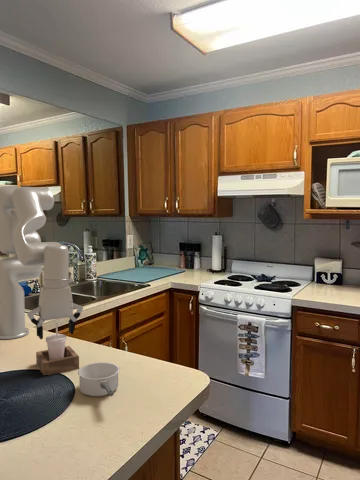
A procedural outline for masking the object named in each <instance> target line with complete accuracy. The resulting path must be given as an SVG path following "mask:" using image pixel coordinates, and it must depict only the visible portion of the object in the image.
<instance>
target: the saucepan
mask: <svg viewBox="0 0 360 480" xmlns="http://www.w3.org/2000/svg"><path fill="white" fill-rule="evenodd" d="M119 372H120V367H119V366H118V365H117V364H116V363H113V362H109V361H107V362H106V361H97V362H93V363H89V364H86V365H83V366H81V367H79V369H78V372H77V375H78V376H79V391H80V392H81V393H82V394H84V395H87V396H91V397H103V396H106V395H109V397H112V396H114V395H115V394H114V392H115V391H116V390H117V389H118V387H119Z"/></svg>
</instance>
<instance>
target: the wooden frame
mask: <svg viewBox="0 0 360 480" xmlns="http://www.w3.org/2000/svg"><path fill="white" fill-rule="evenodd" d="M35 354H36V357H35V358H36V361H35V363H36V366H37V367H38V369H39V370H40V373H43V374H42V375H48V376H51V375H57V374H60V373H65V372H70V371H74V370H77V369H78V370H79V369H80V355H78V353H77V352H76V351H75V350H74V349H73V348H72V347H71V346H70V345H67V346H66V345H65V349H64V358H60V359H55V360H50V359H49V353H48V349H45V350H39V351H36V352H35Z"/></svg>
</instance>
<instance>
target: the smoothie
mask: <svg viewBox="0 0 360 480" xmlns="http://www.w3.org/2000/svg"><path fill="white" fill-rule="evenodd" d="M58 325H59V324H58V322H56V323H55V333H53V334H50V335H47V336H46V337H45V342H46V347H47V350H48V353H49V359H50V360H55V359H60V358H64V349H65V347H66V341H67V335H66V334H64V333H58V332H59V331H58Z"/></svg>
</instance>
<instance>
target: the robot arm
mask: <svg viewBox="0 0 360 480" xmlns="http://www.w3.org/2000/svg"><path fill="white" fill-rule="evenodd" d="M54 204H55V198H54V194H53V193H52V191H51V190H50V189H49V188H46V187H34V186H33V187H32V186H13V185H12V186H11V185H10V186H8V185H7V186H0V252H1V254H6V255H15V254H16V256H11V257H9V256H8V257H4V258H0V340H12V339H17V338H21V337H22V338H23V337H25V336H27V335H28V334H29V333H30V329H29V328H28V327H26V324H25V323H26V321H25V320H26V318H25V317H26V316H27V317H28V319H29V320H30V322H31V323H32V324H33V325H35V326H36V336H37V337H38V338H39V339H40V340H43V339H44V326H43V324H44V323H45V321H51V320H59V319H65V318H69V319H68V333H70V334H71V335H74V332H75V330H76V322H77V320H78V318H79V317H80V316H81V313H82V312H83V310H84V307H83V306H82V305H80V304H77V303H74V301H73V300H74V299H73V293H72V288H71V285H70V284H71V283H73V282H74V279H73V278H70V277H69V247H68V246H67V245H65V244H61V243H59V242H57V241H46V242H45V241H42V239H41V235H40V234H39V233H38V232H37V231H38V230H40V229H41V228H42V227H44V226H45V224H46V221H47V217H46V215H45V212H44V211H50V210H52V209H53V208H54ZM42 267H43V268H42ZM42 270H43V287H40V290H39V298H38V306H37V307H36V308H33V309H32V310H30V311H28V312H27V313H26V314H25V311H26V310H25V306H26V304H25V290H24V287H23V286H21V284H20V283H19V282H18V281H22V280H24V281H25V280H30V279H31V280H32V279H33V280H34V279H36V278H39V277H40V276H41V274H42ZM74 309H76V312H75V313H74ZM36 314H38V316H39V317H38V318H37V319H36V318H35V317H34V316H35V315H36Z"/></svg>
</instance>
